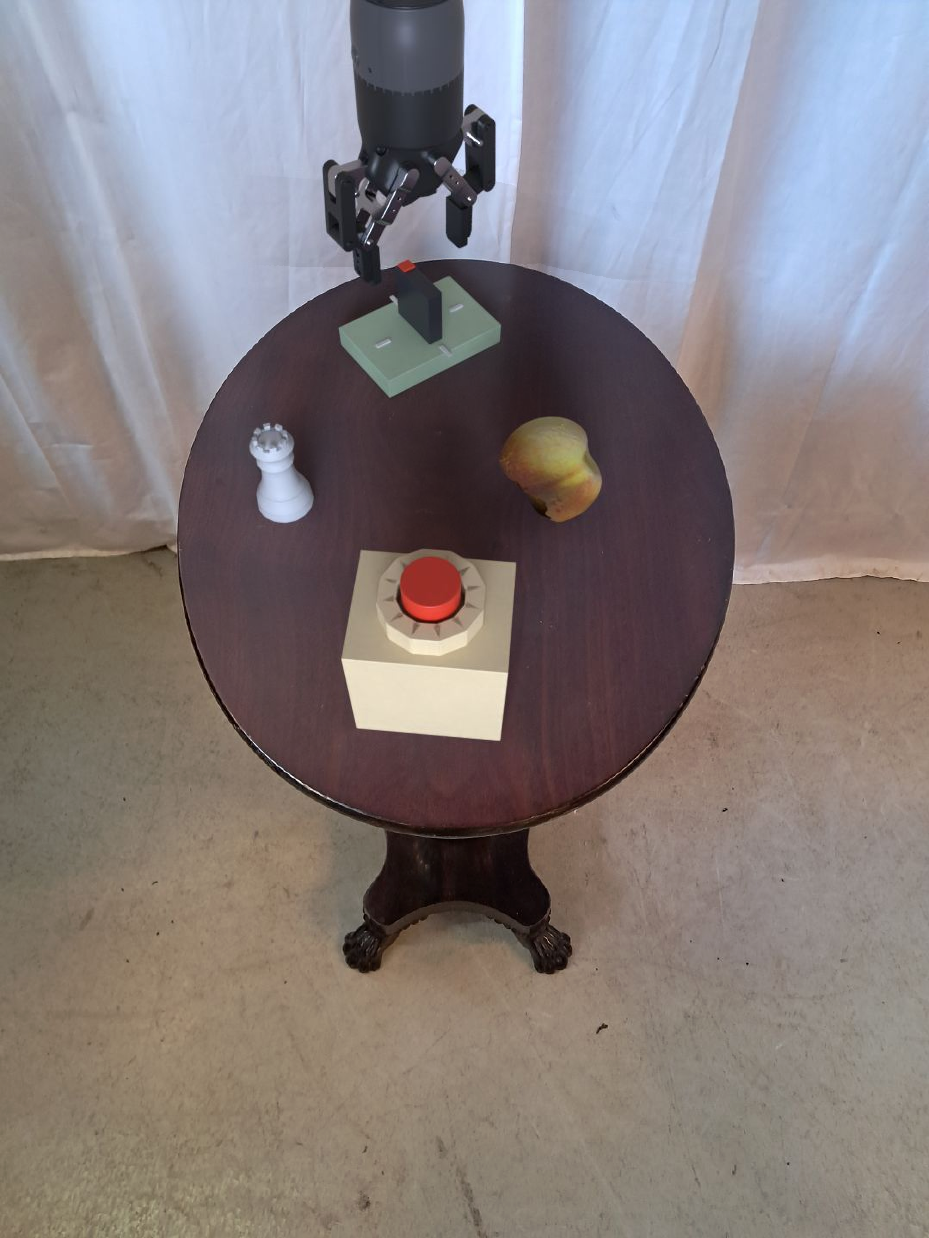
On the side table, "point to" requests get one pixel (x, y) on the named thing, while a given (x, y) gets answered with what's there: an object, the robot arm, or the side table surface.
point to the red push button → (430, 589)
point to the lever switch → (418, 340)
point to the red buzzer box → (429, 650)
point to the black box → (419, 301)
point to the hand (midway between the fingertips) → (414, 261)
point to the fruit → (552, 466)
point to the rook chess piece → (279, 476)
